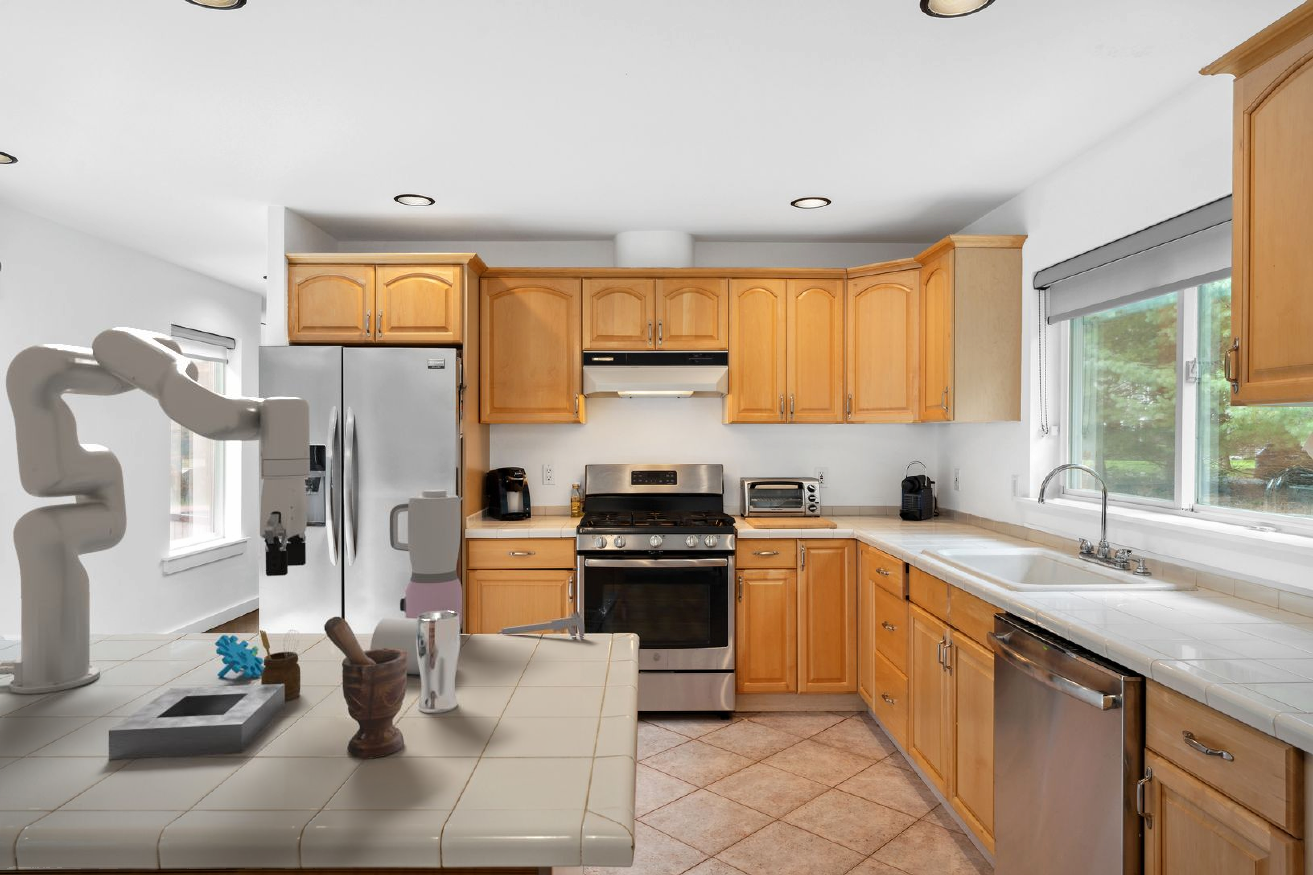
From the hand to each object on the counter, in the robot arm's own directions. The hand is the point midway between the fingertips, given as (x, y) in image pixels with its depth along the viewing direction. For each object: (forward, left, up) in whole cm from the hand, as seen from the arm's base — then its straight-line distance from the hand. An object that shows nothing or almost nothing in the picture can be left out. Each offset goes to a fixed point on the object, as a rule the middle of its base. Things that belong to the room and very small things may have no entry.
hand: (286, 570), depth 127 cm
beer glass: (+26, -9, -22) cm, 35 cm away
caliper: (+42, +32, -22) cm, 57 cm away
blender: (+17, +37, -22) cm, 46 cm away
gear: (-12, +12, -22) cm, 27 cm away
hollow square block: (-7, -15, -21) cm, 27 cm away
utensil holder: (-1, -1, -22) cm, 22 cm away
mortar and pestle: (+19, -26, -22) cm, 39 cm away
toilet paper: (+18, +10, -22) cm, 30 cm away
